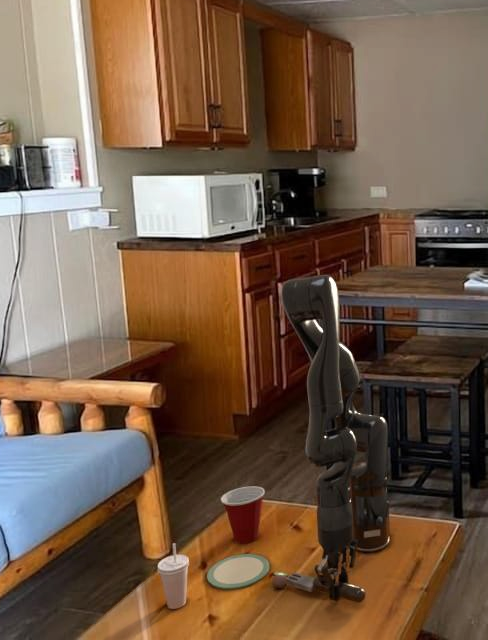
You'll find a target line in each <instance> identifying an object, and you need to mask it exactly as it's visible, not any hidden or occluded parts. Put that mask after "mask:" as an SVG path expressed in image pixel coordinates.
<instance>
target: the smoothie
mask: <svg viewBox="0 0 488 640" xmlns="http://www.w3.org/2000/svg"><path fill="white" fill-rule="evenodd" d="M189 560H190V559H189V557H188V556H187V555H185V554H177V547H176V543H175V542H173V543H172V555H169V556H167V557H164V558H162V559H161V560H160V561H159V562H158V563H157V572H158V574H159V575H160V579H161V585H162V588H163V592H164V595H165V596H164V597H165V602H166V604H167V608H168V609H171V610H175V609H179V608H182V607H184V606H185V605H186V603H187V587H188V567H189V565H190V561H189Z"/></svg>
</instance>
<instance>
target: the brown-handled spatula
mask: <svg viewBox="0 0 488 640" xmlns="http://www.w3.org/2000/svg"><path fill="white" fill-rule="evenodd" d="M286 584H288V585H287V586H292V587H294V588H296V589H299V590H303V591H305V592H308V593H313V592H314V591H317V592H320V593H324V594H327V595H329V592H328V587H326V586H322V585H321V584H320V581H319V579H318V577H317V576H316V577H313V576H310V575H309V576H308V575H306V574H301V573H298V572H295V571H294V572H292V573H291V574H290V575H289V576H288V577H287V578H286ZM338 584H339V596H340V598H341V599H344V600H345V601H346V600H347V601H350V602H352V603H356V604H360V603H362V602H364V601H365V599H366V596H367V593H366V590H365V589H364V588H362V587H360V586H356V585H354V584H350V583H349V584H347V583H343V582H340V581H339V583H338Z"/></svg>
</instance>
